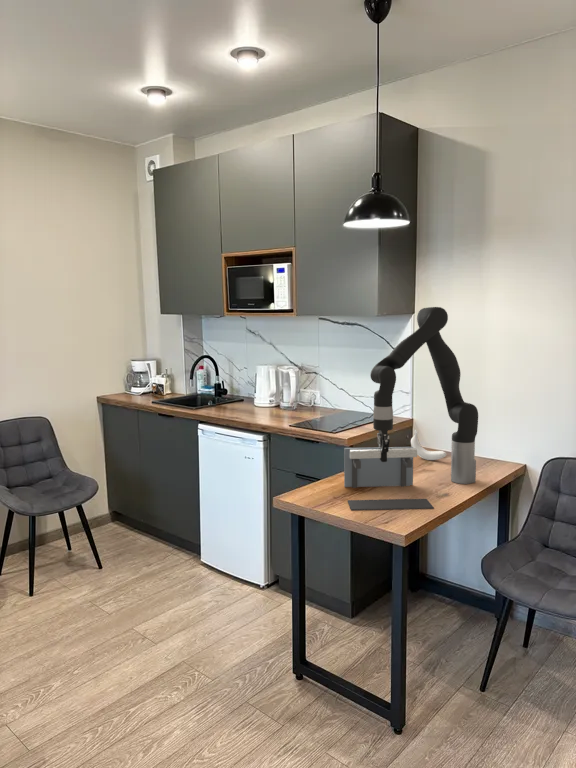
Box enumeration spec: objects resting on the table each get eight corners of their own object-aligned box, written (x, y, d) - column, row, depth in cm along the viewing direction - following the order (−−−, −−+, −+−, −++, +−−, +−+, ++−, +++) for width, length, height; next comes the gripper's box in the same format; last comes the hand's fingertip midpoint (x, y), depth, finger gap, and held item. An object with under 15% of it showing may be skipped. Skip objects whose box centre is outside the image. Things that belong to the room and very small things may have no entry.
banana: (444, 464, 267) (445, 433, 265) (408, 458, 279) (408, 428, 277) (449, 462, 270) (450, 431, 269) (413, 456, 283) (413, 426, 281)
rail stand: (412, 484, 236) (412, 446, 234) (419, 494, 223) (420, 454, 221) (344, 486, 235) (344, 448, 233) (348, 495, 223) (348, 455, 221)
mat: (426, 499, 217) (426, 498, 217) (433, 508, 207) (433, 507, 207) (347, 501, 216) (347, 500, 216) (350, 510, 207) (350, 509, 206)
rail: (415, 455, 225) (415, 448, 225) (417, 457, 223) (417, 449, 222) (349, 457, 225) (349, 449, 224) (350, 458, 222) (350, 451, 222)
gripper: (396, 420, 215) (396, 465, 217) (389, 413, 229) (389, 456, 231) (376, 420, 215) (376, 465, 217) (370, 414, 229) (370, 456, 231)
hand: (383, 460), depth 224 cm, fingers closed on rail, 2 cm apart
